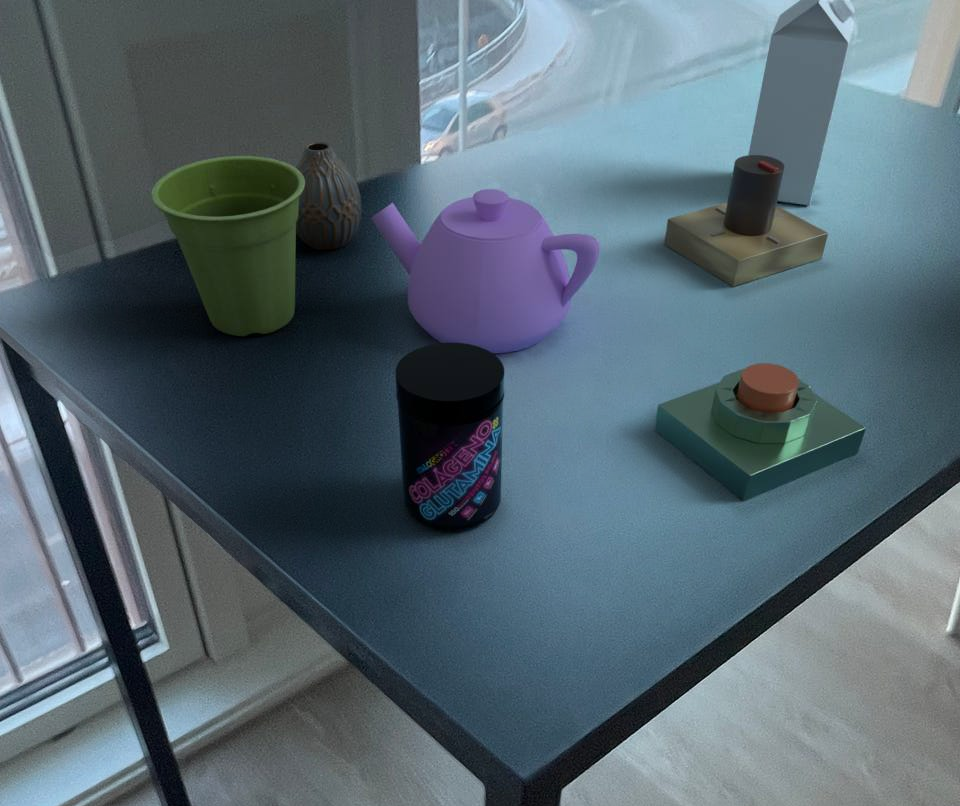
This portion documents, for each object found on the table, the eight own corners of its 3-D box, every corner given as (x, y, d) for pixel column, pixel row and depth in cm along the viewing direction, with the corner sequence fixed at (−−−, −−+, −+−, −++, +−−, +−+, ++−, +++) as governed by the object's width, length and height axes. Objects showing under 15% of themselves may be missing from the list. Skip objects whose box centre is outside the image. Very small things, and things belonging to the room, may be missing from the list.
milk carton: (739, 198, 104) (780, -15, 91) (749, 172, 109) (789, -34, 95) (809, 207, 103) (861, -8, 89) (816, 180, 108) (866, -28, 94)
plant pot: (209, 280, 91) (184, 150, 83) (336, 291, 90) (322, 160, 82) (159, 346, 83) (125, 210, 75) (297, 360, 82) (278, 223, 74)
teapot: (411, 261, 94) (406, 142, 86) (615, 304, 89) (629, 181, 81) (339, 330, 85) (326, 204, 78) (561, 382, 80) (571, 252, 72)
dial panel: (750, 219, 101) (755, 192, 99) (822, 258, 95) (829, 231, 93) (663, 244, 97) (667, 216, 95) (733, 287, 91) (738, 258, 89)
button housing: (764, 388, 79) (775, 342, 77) (858, 452, 74) (873, 405, 71) (654, 429, 75) (661, 382, 73) (743, 501, 70) (755, 453, 67)
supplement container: (386, 521, 68) (375, 386, 60) (428, 466, 72) (423, 333, 65) (478, 547, 66) (479, 411, 59) (515, 488, 70) (521, 355, 63)
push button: (766, 378, 74) (771, 357, 73) (805, 404, 72) (811, 383, 70) (724, 394, 72) (729, 372, 71) (763, 421, 70) (768, 399, 69)
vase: (302, 262, 94) (290, 165, 87) (284, 232, 98) (271, 137, 92) (373, 250, 96) (366, 154, 89) (352, 221, 100) (343, 127, 94)
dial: (713, 221, 95) (725, 157, 90) (749, 211, 96) (762, 147, 92) (745, 239, 92) (758, 174, 88) (781, 228, 94) (795, 164, 89)
